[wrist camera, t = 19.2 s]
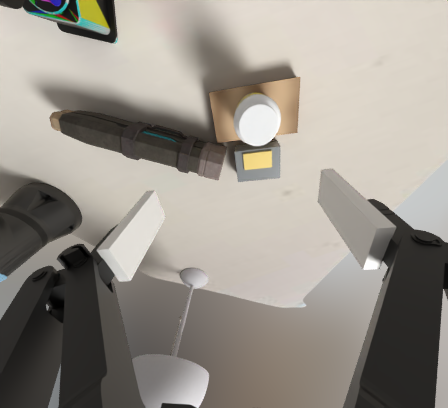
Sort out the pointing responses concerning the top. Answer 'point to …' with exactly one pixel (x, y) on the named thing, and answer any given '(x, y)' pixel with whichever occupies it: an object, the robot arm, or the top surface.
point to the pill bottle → (256, 119)
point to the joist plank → (277, 90)
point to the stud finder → (258, 161)
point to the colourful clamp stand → (74, 16)
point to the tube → (142, 141)
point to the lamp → (173, 365)
